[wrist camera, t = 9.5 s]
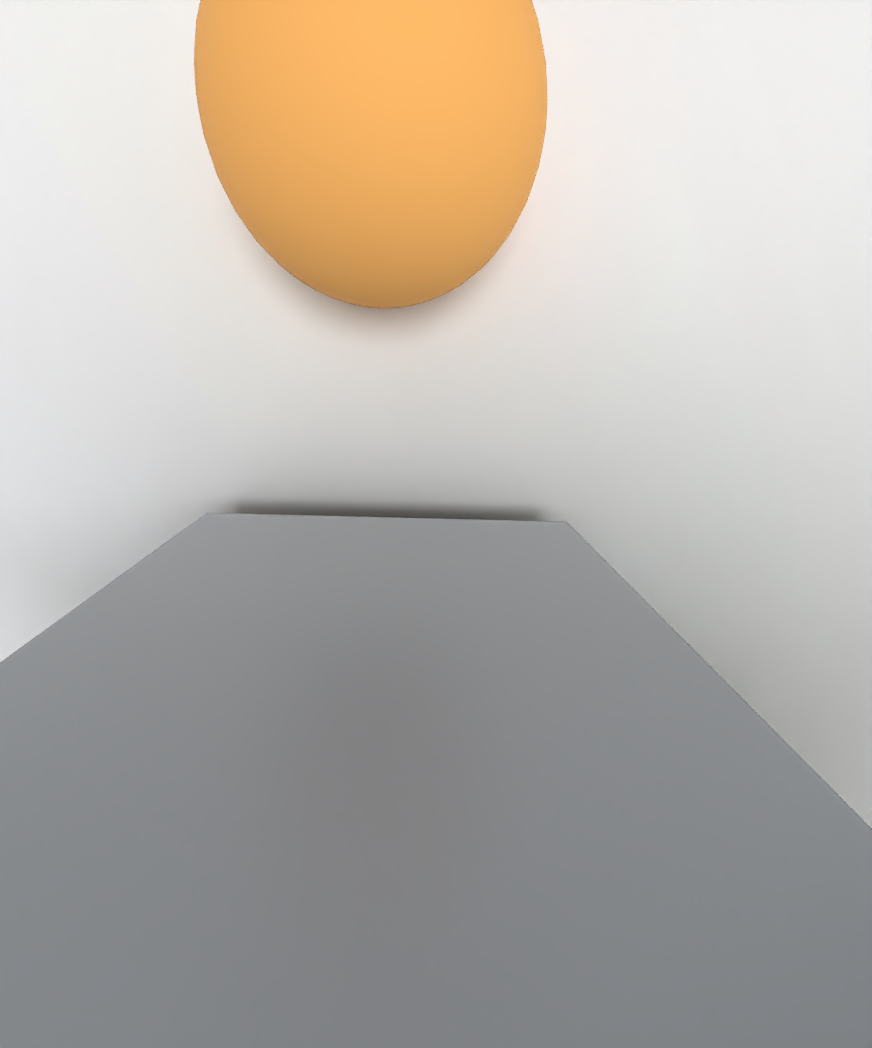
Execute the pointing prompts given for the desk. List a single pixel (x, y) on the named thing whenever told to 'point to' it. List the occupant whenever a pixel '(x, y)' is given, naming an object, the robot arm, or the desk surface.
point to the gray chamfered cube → (409, 810)
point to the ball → (374, 134)
